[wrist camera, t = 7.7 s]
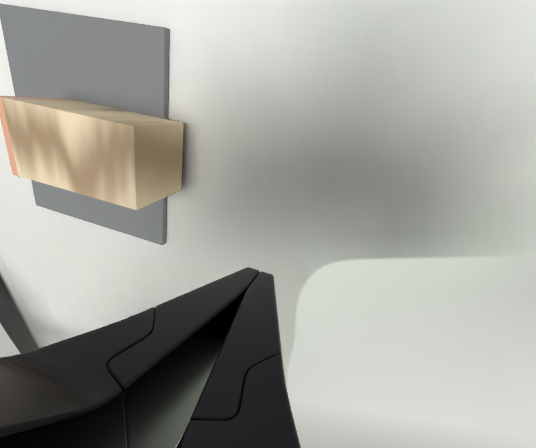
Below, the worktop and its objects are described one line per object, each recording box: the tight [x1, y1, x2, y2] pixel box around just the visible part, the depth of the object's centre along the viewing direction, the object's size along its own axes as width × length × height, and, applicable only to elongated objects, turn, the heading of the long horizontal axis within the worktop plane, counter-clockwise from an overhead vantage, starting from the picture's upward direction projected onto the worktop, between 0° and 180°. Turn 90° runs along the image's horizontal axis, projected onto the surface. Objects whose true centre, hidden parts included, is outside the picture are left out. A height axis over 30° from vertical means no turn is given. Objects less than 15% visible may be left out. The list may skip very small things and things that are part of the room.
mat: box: [0, 4, 169, 245], centre depth 23 cm, size 16×14×1 cm
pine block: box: [0, 96, 184, 210], centre depth 20 cm, size 5×5×10 cm
